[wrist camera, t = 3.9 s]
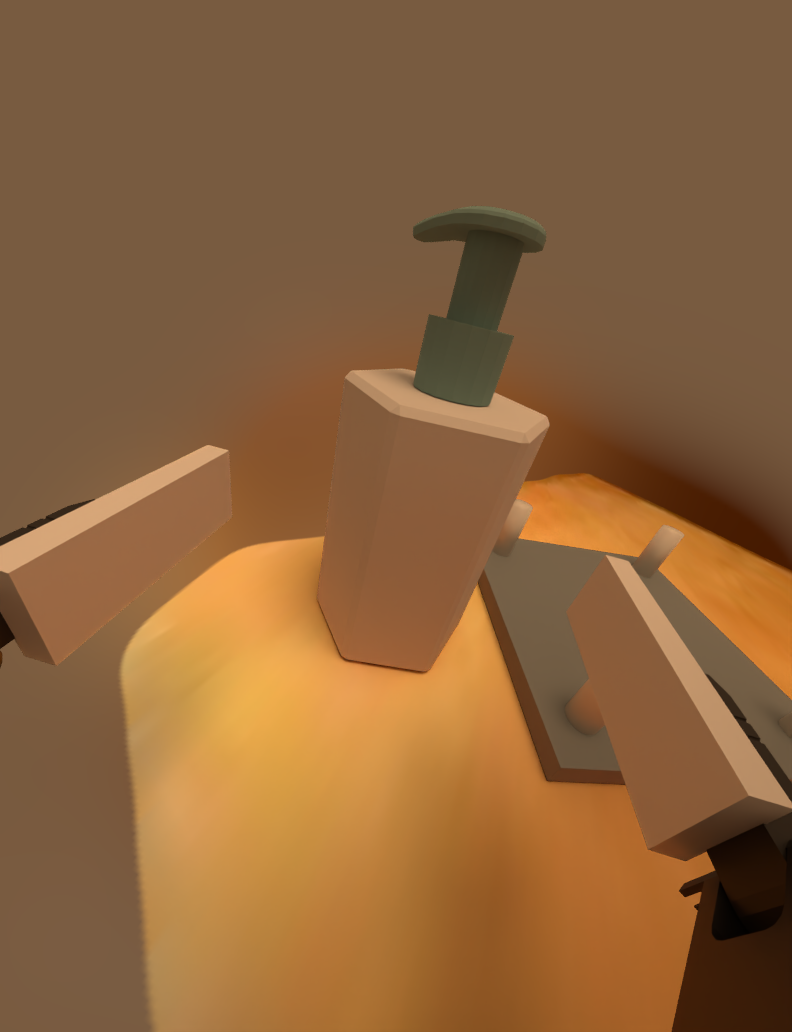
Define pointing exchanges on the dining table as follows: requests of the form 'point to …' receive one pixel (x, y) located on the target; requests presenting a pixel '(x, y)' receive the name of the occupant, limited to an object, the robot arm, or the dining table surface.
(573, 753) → the plate
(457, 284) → the soap bottle
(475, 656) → the dining table surface
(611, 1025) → the dining table surface
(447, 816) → the dining table surface
